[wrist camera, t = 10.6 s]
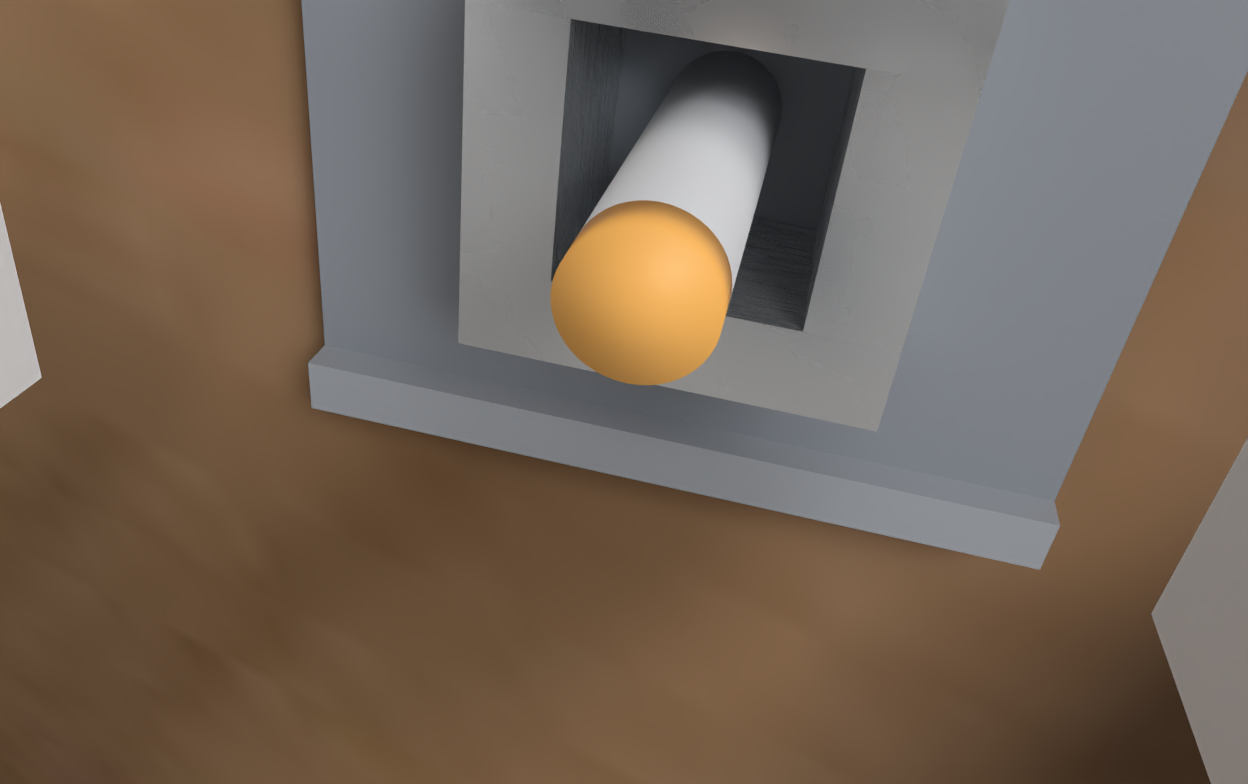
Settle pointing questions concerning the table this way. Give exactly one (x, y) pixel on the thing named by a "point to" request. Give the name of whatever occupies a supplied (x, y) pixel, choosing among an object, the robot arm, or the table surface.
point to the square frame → (774, 252)
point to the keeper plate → (989, 266)
